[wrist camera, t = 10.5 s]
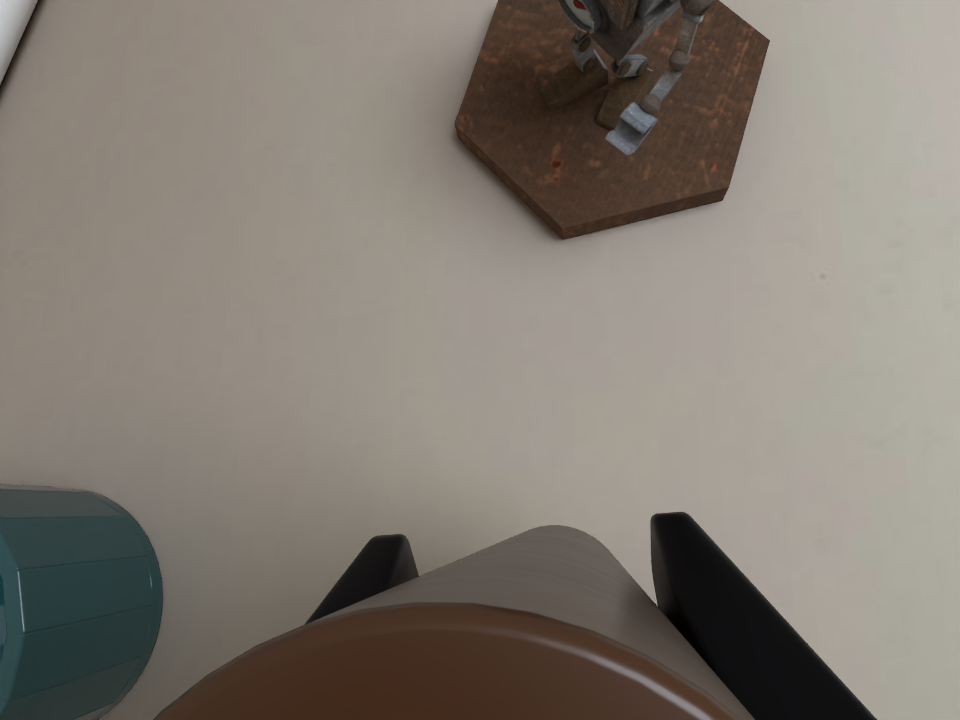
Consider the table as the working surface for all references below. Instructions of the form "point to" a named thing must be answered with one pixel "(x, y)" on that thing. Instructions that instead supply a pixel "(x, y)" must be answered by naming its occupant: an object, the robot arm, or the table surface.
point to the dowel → (480, 649)
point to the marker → (12, 28)
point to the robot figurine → (612, 106)
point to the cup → (72, 603)
